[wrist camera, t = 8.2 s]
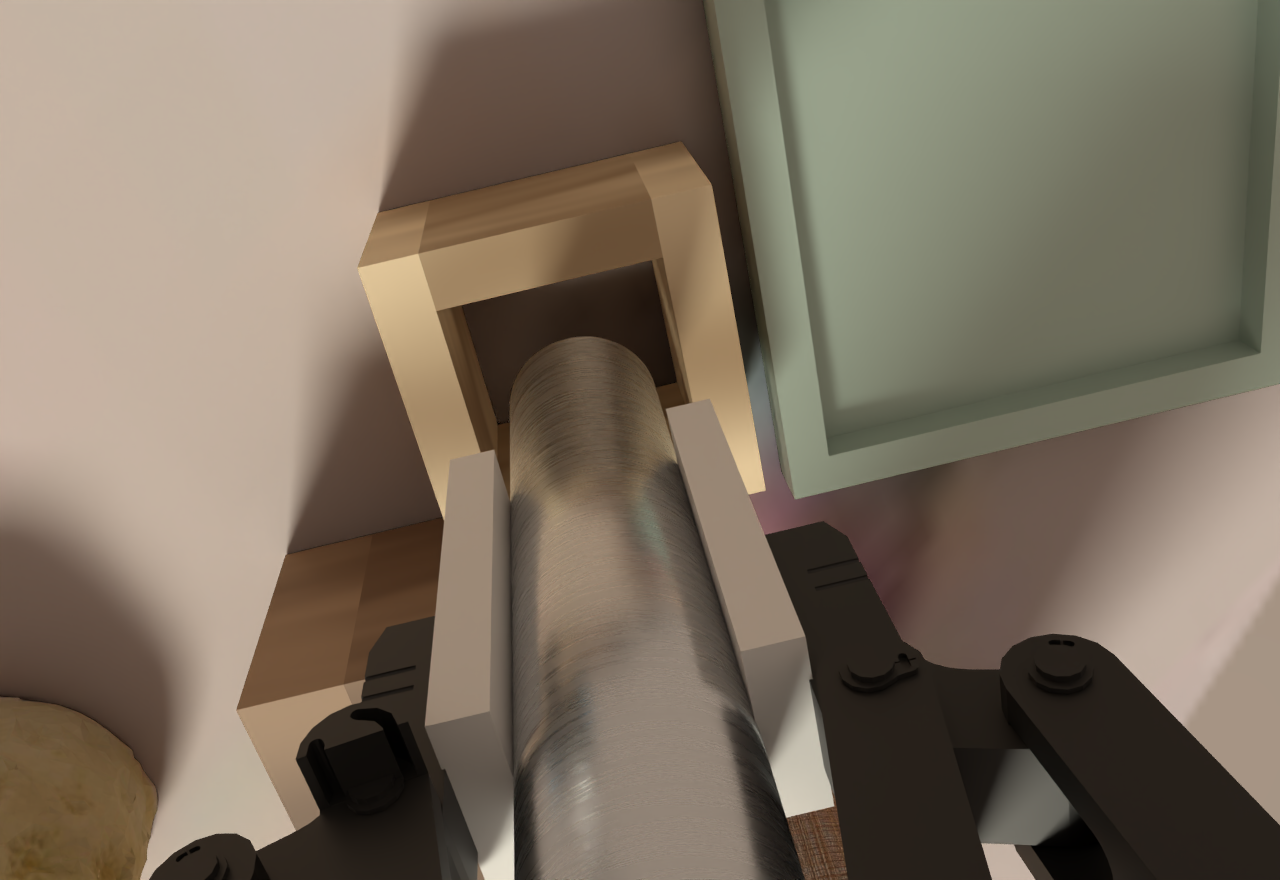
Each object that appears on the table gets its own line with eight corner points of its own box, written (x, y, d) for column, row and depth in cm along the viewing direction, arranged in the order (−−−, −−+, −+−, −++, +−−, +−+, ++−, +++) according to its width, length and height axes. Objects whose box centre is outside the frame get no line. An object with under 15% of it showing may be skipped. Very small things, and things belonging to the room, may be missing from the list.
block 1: (285, 554, 28) (236, 709, 23) (550, 491, 28) (561, 632, 23) (371, 753, 32) (345, 929, 26) (608, 696, 32) (630, 860, 26)
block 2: (377, 212, 25) (357, 268, 21) (681, 141, 25) (711, 184, 21) (464, 477, 28) (458, 564, 24) (731, 413, 28) (765, 490, 24)
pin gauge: (492, 356, 22) (477, 992, 9) (641, 321, 22) (827, 909, 9) (530, 484, 23) (560, 1190, 10) (669, 451, 23) (866, 1119, 10)
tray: (692, -60, 23) (704, -57, 21) (1297, -203, 23) (1346, -207, 22) (781, 471, 29) (794, 499, 27) (1260, 357, 29) (1296, 380, 28)
